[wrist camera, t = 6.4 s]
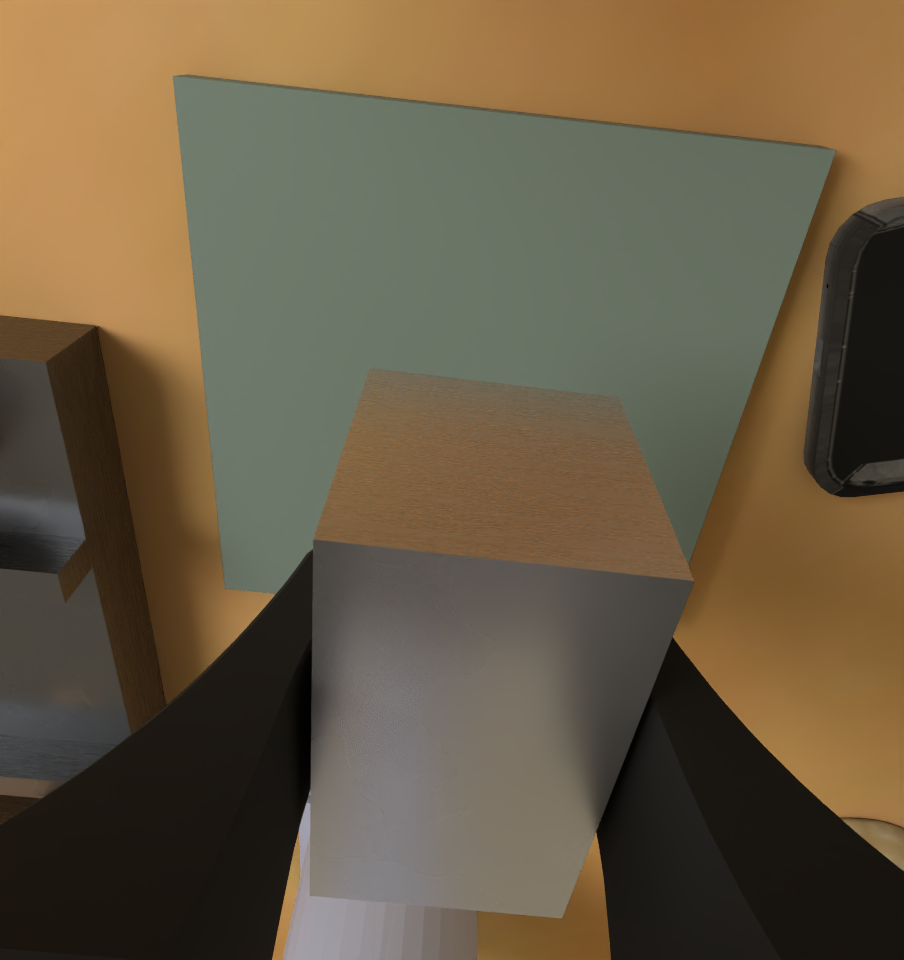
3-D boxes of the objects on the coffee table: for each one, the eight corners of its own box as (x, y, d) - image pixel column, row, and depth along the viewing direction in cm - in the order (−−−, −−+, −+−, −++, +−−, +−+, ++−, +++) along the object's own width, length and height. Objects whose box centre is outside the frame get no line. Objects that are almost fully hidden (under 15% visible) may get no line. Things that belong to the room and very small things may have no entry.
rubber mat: (659, 613, 23) (664, 631, 22) (232, 572, 22) (224, 589, 22) (820, 145, 15) (836, 150, 15) (186, 74, 15) (172, 75, 14)
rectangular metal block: (539, 693, 15) (561, 917, 11) (353, 674, 15) (310, 895, 11) (619, 397, 11) (694, 580, 7) (369, 367, 11) (312, 539, 7)
